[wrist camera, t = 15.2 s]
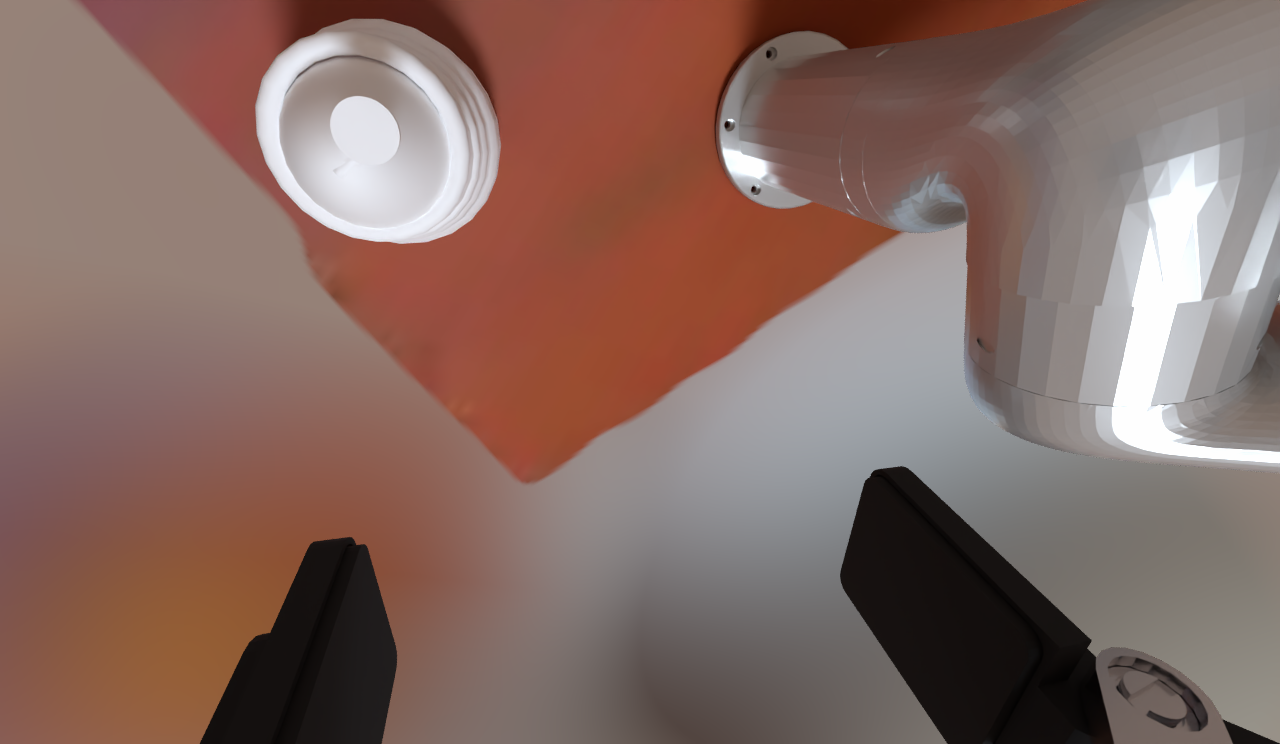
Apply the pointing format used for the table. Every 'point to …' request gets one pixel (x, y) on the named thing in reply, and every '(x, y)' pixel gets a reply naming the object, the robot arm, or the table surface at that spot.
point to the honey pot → (379, 132)
